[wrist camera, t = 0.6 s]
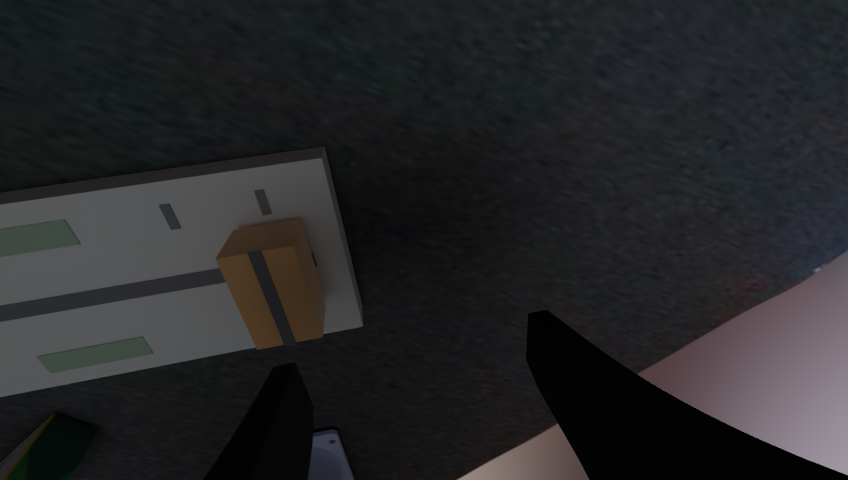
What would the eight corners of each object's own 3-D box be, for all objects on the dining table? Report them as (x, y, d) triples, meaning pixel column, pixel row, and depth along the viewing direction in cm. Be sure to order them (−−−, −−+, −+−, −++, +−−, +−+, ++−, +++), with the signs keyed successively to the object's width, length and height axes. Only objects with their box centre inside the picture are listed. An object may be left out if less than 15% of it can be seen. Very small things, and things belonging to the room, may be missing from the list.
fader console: (361, 304, 23) (362, 327, 21) (-28, 377, 20) (-65, 411, 19) (324, 146, 18) (321, 158, 16) (-197, 220, 15) (-269, 244, 14)
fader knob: (326, 303, 19) (323, 339, 17) (268, 314, 19) (257, 352, 17) (300, 217, 17) (292, 246, 14) (232, 229, 16) (214, 259, 14)
